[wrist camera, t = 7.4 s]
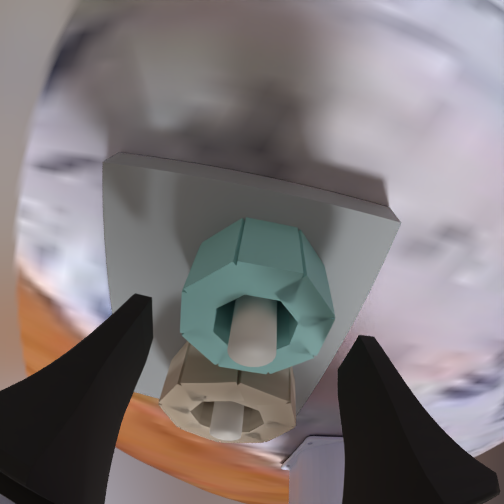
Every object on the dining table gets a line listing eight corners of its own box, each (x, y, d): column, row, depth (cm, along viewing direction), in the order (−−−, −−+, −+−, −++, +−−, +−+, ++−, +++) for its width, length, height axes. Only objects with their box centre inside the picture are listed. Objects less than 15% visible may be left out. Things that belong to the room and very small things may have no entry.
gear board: (292, 404, 21) (292, 470, 16) (132, 373, 20) (110, 436, 16) (389, 207, 13) (442, 283, 8) (119, 152, 12) (41, 203, 7)
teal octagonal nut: (301, 328, 15) (304, 379, 12) (193, 309, 14) (179, 358, 12) (336, 235, 12) (352, 282, 9) (204, 209, 12) (184, 250, 9)
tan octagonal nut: (298, 399, 18) (299, 440, 16) (197, 403, 19) (189, 441, 17) (284, 328, 15) (285, 378, 12) (157, 337, 16) (141, 381, 13)
